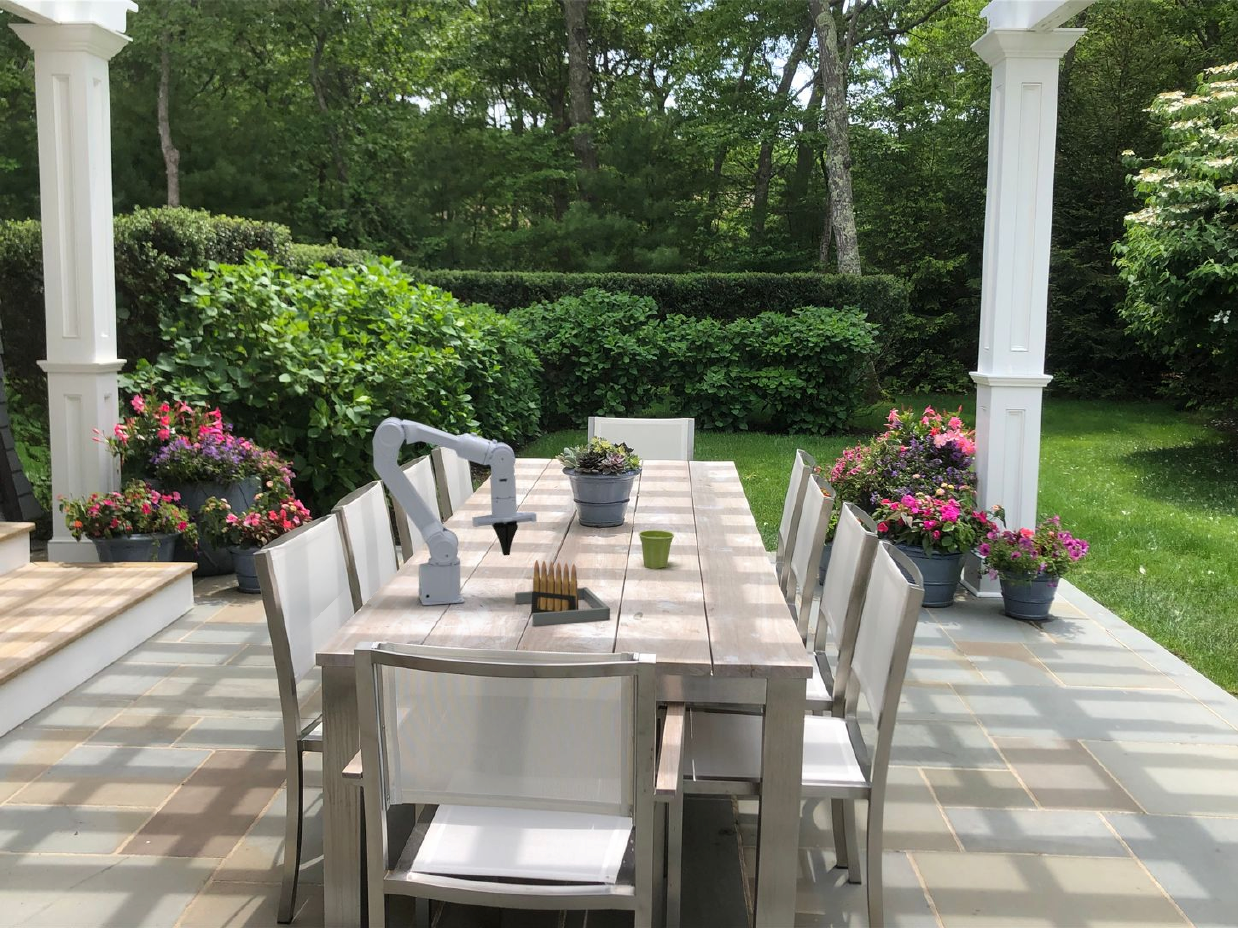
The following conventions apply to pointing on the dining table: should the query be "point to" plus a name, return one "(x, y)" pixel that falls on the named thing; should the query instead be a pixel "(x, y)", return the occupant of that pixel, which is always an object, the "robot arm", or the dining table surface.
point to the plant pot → (656, 547)
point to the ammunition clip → (554, 589)
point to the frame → (570, 616)
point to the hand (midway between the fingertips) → (506, 554)
